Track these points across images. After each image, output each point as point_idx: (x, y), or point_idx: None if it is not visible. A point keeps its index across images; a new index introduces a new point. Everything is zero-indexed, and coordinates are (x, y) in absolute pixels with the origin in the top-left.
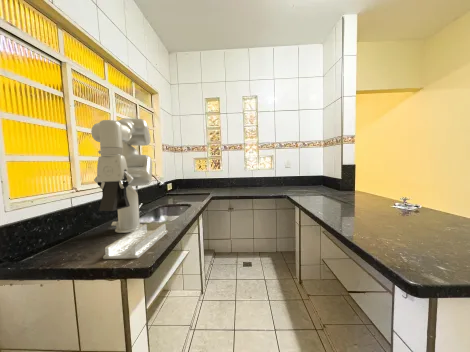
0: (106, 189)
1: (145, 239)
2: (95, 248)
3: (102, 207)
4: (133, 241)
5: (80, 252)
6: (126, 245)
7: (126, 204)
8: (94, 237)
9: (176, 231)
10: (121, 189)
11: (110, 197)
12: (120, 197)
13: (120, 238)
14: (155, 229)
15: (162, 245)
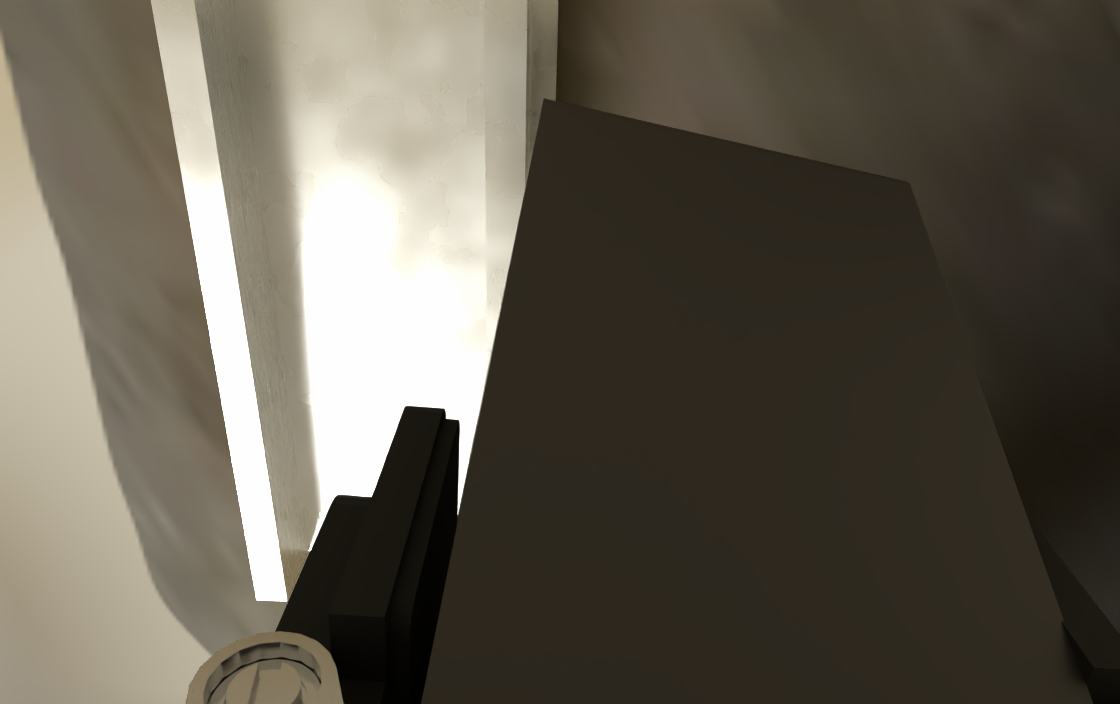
0: (956, 638)
1: (165, 57)
2: (848, 124)
3: (841, 195)
4: (459, 230)
5: (967, 14)
6: (470, 107)
7: (462, 496)
8: (1037, 459)
9: (179, 542)
10: (340, 622)
11: (678, 345)
12: (422, 418)
13: (523, 109)
14: (257, 412)
15: (90, 144)
